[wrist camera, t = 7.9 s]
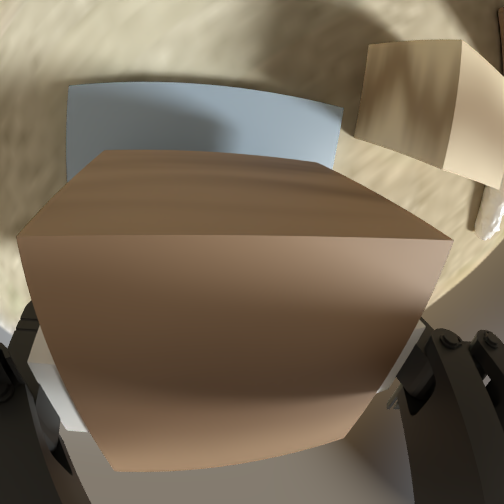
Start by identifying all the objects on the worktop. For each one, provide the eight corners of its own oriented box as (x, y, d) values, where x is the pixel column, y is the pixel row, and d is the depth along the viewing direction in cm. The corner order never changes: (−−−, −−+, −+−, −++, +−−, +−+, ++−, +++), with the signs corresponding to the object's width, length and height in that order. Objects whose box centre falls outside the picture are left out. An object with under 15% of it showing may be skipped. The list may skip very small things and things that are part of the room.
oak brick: (368, 44, 13) (462, 39, 7) (433, 76, 15) (517, 91, 9) (353, 137, 16) (442, 169, 10) (419, 155, 18) (499, 190, 12)
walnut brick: (104, 150, 9) (15, 236, 3) (317, 162, 11) (454, 240, 6) (118, 329, 13) (114, 471, 7) (281, 321, 15) (343, 438, 9)
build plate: (78, 86, 11) (68, 85, 10) (329, 106, 15) (343, 108, 13) (92, 310, 17) (88, 326, 15) (288, 303, 21) (296, 317, 19)
